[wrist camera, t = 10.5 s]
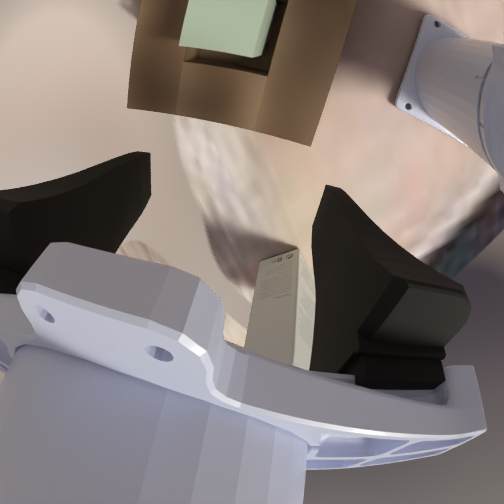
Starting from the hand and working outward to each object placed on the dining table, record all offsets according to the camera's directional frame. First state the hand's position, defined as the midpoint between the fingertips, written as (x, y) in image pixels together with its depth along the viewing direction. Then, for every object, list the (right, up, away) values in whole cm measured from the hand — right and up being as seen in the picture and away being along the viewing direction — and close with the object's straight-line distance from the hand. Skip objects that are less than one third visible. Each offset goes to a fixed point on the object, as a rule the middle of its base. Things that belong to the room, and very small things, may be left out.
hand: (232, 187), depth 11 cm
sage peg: (0, +12, +3) cm, 12 cm away
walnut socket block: (0, +12, +4) cm, 12 cm away
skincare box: (+5, -5, +17) cm, 18 cm away
